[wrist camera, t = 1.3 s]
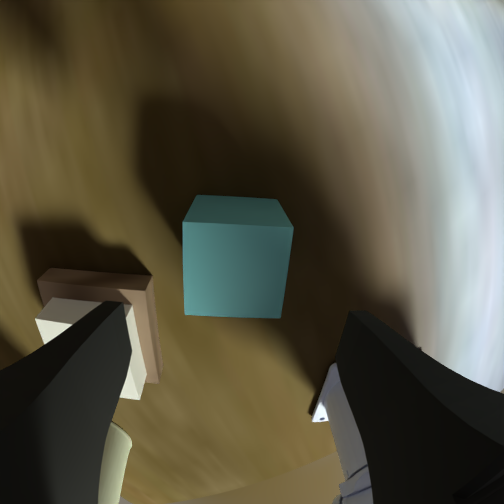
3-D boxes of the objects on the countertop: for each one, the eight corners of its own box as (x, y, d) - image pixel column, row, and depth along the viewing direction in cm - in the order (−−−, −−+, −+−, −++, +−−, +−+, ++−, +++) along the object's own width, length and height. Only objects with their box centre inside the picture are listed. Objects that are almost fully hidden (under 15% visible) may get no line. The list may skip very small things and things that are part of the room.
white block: (132, 304, 17) (120, 330, 14) (146, 374, 19) (139, 399, 17) (52, 297, 16) (35, 318, 14) (75, 363, 19) (63, 386, 16)
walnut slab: (154, 271, 19) (145, 291, 16) (164, 361, 22) (159, 383, 20) (53, 264, 18) (36, 280, 16) (76, 348, 21) (65, 368, 19)
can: (44, 403, 24) (9, 486, 13) (107, 408, 24) (78, 512, 13) (84, 447, 28) (64, 521, 17) (145, 453, 27) (132, 539, 16)
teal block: (276, 199, 17) (293, 227, 12) (269, 270, 19) (280, 318, 14) (196, 194, 16) (182, 221, 12) (195, 267, 18) (184, 314, 14)
